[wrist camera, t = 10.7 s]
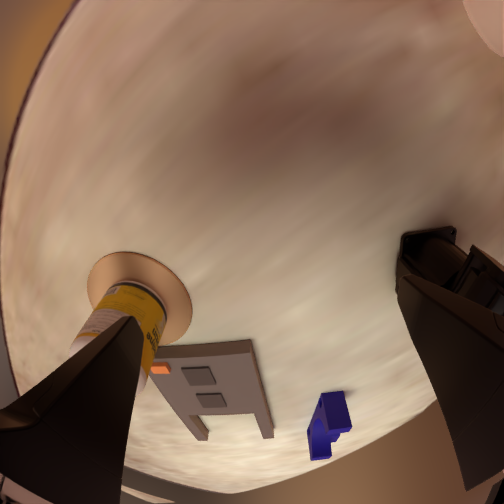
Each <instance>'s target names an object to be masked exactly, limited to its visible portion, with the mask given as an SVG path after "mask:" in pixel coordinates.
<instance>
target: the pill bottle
mask: <svg viewBox="0 0 504 504" xmlns="http://www.w3.org/2000/svg"><path fill="white" fill-rule="evenodd" d="M123 316H134V317H135V318H136V320H137V322H138V324H139V326H140V328H141V330H142V331H143V334H144V344H143V352H142V360H141V369H140V376H139V381H138V386H137V390H136V395H135V397H136V396H138V395H139V394H140V393H141V392H142V391H143V389H144V387H145V385H146V382H147V379H148V375H149V372H150V369H151V366H152V363H153V360H154V357H155V354H156V351H157V348H158V345H159V342H160V340H161V337H162V334H163V331H164V328H165V325H166V322H167V311H166V307H165V305H164V303H163V301H162V299H161V298H160V297H159V296H158V294H157V293H156V292H154V291H153V290H152V289H151V288H149V287H147V286H146V285H144V284H141V283H139V282H135V281H120V282H118V283H115V284H114V285H112V286H111V287H110V288H109V289H108V290H107V291H106V293H105V295H104V296H103V297H102V299H101V300H100V302H99V303H98V305H97V306H96V308H95V309H94V311H93V312H92V314H91V315H90V317H89V318H88V320H87V321H86V323H85V324H84V326H83V327H82V329H81V330H80V332H79V333H78V335H77V336H76V338H75V340H74V341H73V343H72V345H71V347H70V351H69V358H70V357H72V356H73V355H74V354H75V353H77V352H78V351H79V350H80V349H82V348H83V347H84V346H85V345H87V344H88V343H89V342H91V341H92V340H93V339H94V338H96V337H97V336H98V335H99V334H101V333H102V332H103V331H104V330H106V329H107V328H108V327H110V326H111V325H112V324H113V323H115V322H116V321H117V320H119V319H120V318H121V317H123Z"/></svg>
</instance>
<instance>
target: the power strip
mask: <svg viewBox="0 0 504 504" xmlns="http://www.w3.org/2000/svg"><path fill="white" fill-rule="evenodd" d="M149 376H150V377H151V379H152V380H153V382H154V383H155V385H156V386H157V388H158V389H159V391H160V392H161V393H162V395H163V396H164V398H165V399H166V400H167V402H168V403H169V404H170V406H171V407H172V409H173V410H174V411H175V412H176V414H177V415H178V416H179V418H180V419H181V420H182V422H183V423H184V424H185V425H186V427H187V428H188V429H189V430H190V431H191V433H192V434H193V435H194V436H195V438H196V439H197V440H198V441H208V432H209V431H208V430H207V429H206V427H205V426H204V424H203V423H202V422H201V420H200V419H199V417H198V416H197V415H234V414H250V413H254V415H255V417H256V420H257V423H258V426H259V428H260V431H261V434H262V436H263V439H268V438H274V428H273V425H272V421H271V417H270V414H269V410H268V406H267V402H266V399H265V395H264V391H263V387H262V384H261V380H260V376H259V372H258V368H257V364H256V360H255V356H254V352H253V349H252V345H251V341H250V340H243V341H233V342H223V343H211V344H199V345H183V346H163V347H158V348H157V351H156V354H155V357H154V360H153V363H152V366H151V369H150V372H149Z"/></svg>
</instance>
